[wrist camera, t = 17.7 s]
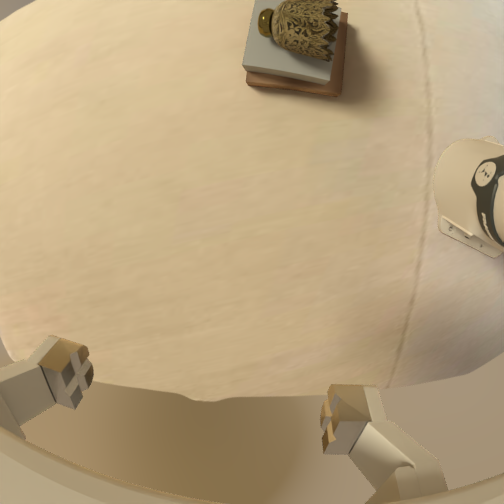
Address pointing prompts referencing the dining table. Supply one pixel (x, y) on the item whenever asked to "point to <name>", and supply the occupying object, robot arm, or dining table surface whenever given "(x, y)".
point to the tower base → (299, 85)
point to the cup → (301, 26)
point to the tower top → (283, 53)
